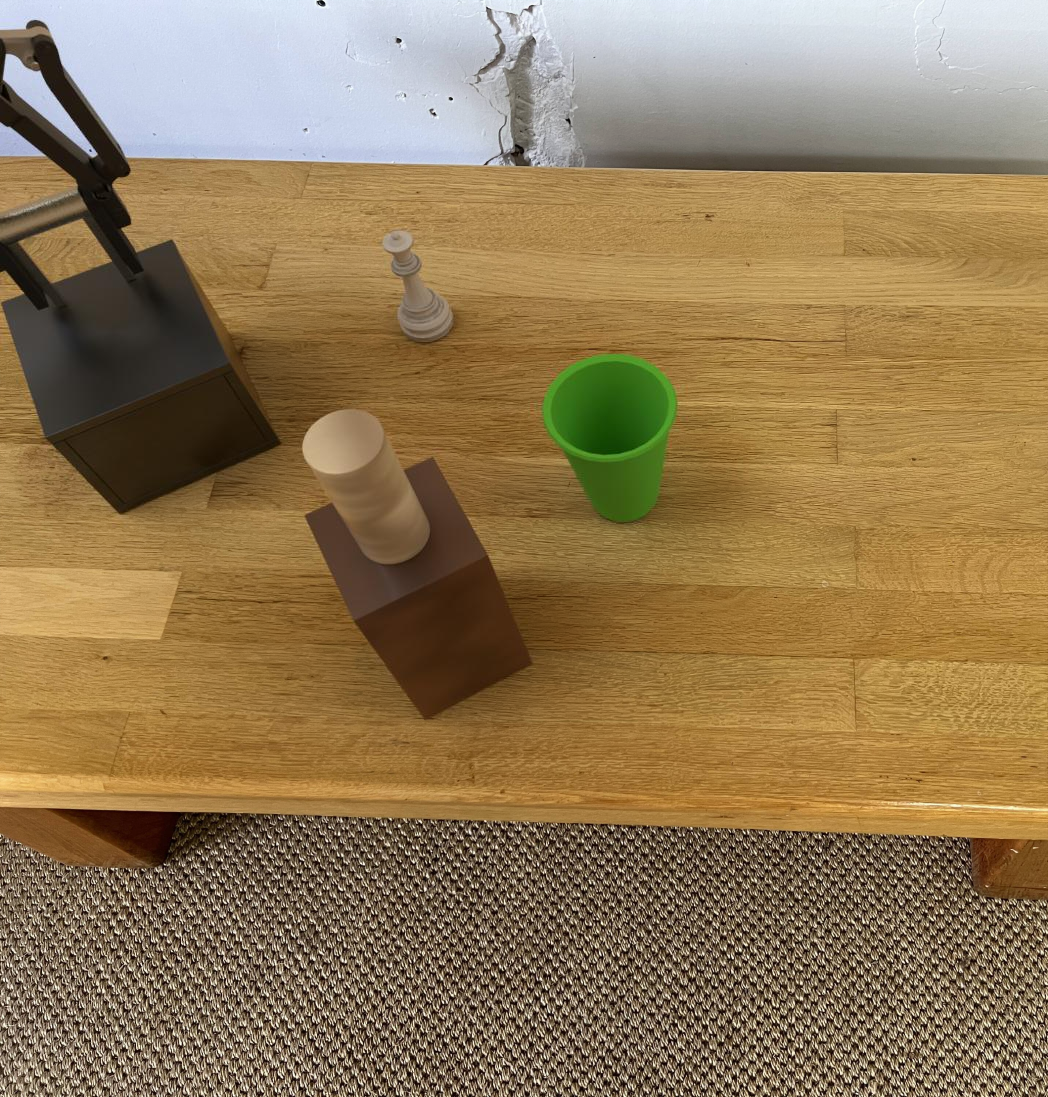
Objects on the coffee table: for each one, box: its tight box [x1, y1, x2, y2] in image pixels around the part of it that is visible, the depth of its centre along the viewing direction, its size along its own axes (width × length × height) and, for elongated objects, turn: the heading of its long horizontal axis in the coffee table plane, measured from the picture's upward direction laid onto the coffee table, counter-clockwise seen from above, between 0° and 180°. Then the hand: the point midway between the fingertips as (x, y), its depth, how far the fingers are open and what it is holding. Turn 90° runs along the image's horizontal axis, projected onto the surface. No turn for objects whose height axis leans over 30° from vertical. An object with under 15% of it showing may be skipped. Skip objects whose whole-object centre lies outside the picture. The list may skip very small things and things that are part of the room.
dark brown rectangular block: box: [304, 456, 533, 721], centre depth 65 cm, size 8×8×15 cm
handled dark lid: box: [0, 185, 234, 445], centre depth 70 cm, size 14×13×9 cm
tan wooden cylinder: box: [301, 408, 430, 564], centre depth 54 cm, size 4×4×9 cm
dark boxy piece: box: [51, 255, 282, 515], centre depth 78 cm, size 14×13×9 cm
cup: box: [541, 353, 679, 523], centre depth 73 cm, size 9×9×11 cm
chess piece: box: [381, 230, 454, 343], centre depth 82 cm, size 4×4×10 cm
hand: (87, 278), depth 74 cm, fingers closed on handled dark lid, 6 cm apart
